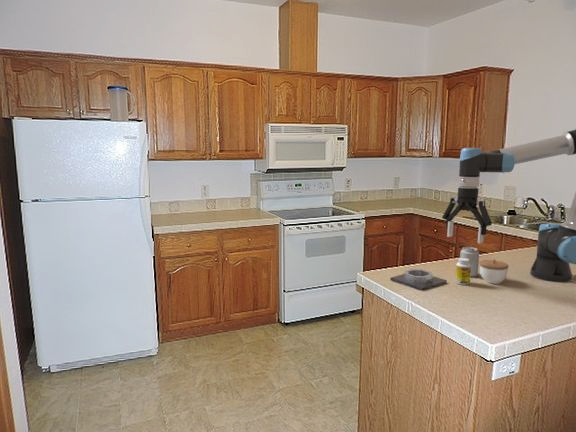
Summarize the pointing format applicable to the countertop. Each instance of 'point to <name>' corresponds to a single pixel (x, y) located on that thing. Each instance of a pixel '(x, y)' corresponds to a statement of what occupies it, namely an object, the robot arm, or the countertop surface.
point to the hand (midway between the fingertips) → (464, 239)
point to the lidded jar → (493, 271)
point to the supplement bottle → (463, 271)
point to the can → (471, 259)
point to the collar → (418, 279)
